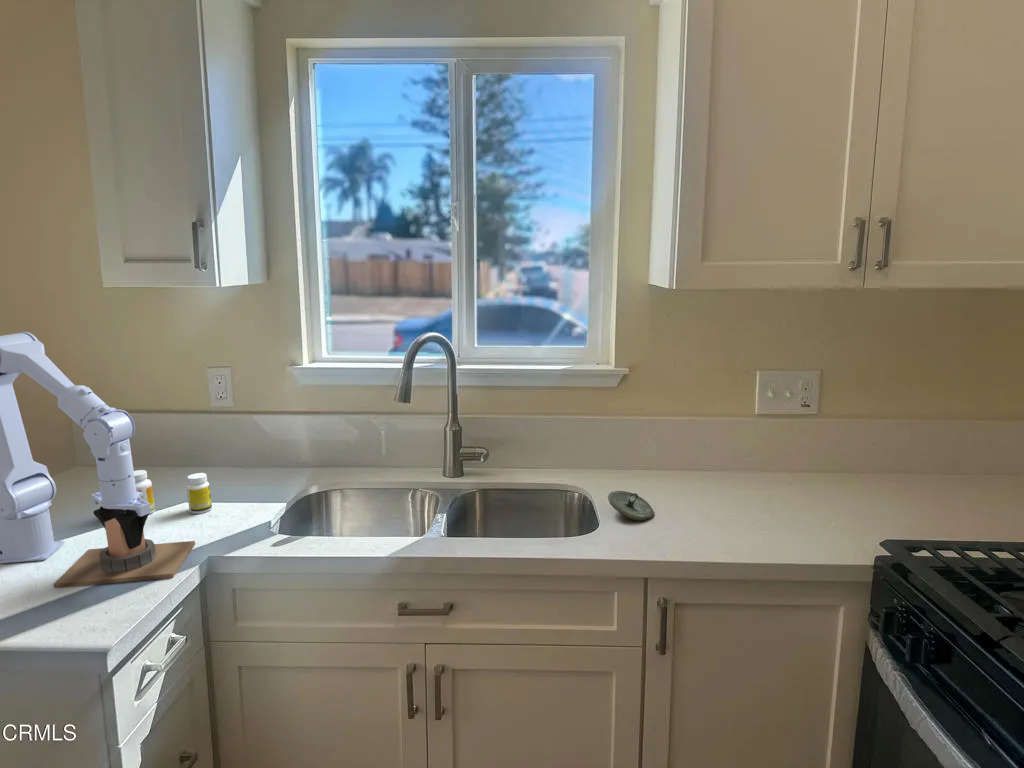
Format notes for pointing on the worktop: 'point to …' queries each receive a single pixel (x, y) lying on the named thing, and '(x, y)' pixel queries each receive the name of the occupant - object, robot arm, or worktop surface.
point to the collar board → (146, 572)
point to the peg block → (120, 540)
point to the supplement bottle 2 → (198, 493)
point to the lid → (630, 505)
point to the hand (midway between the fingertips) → (126, 544)
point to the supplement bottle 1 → (144, 487)
